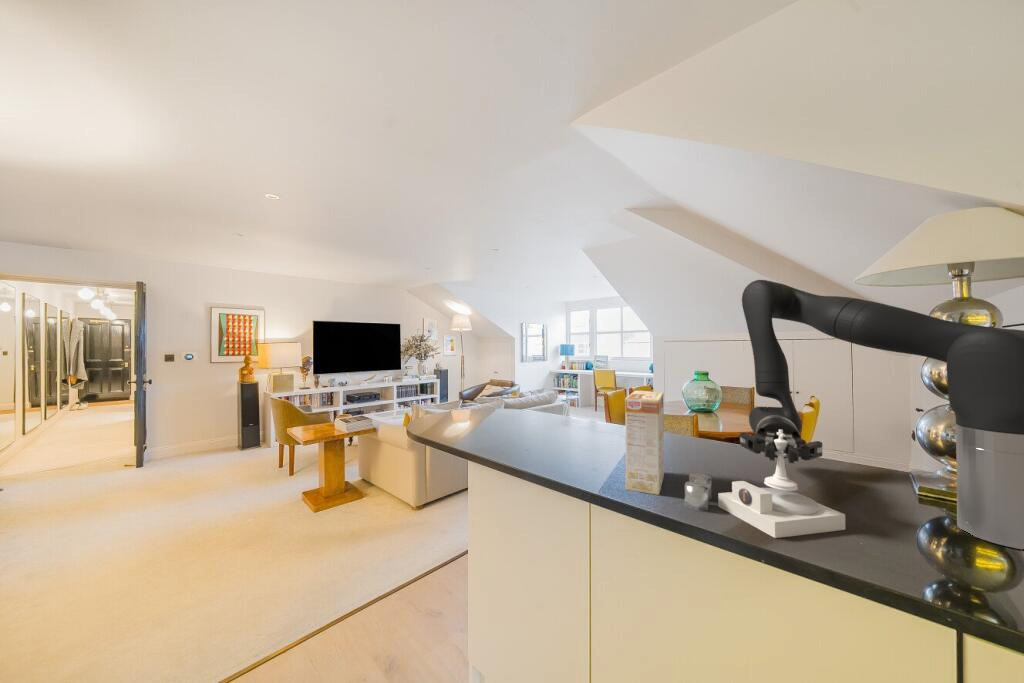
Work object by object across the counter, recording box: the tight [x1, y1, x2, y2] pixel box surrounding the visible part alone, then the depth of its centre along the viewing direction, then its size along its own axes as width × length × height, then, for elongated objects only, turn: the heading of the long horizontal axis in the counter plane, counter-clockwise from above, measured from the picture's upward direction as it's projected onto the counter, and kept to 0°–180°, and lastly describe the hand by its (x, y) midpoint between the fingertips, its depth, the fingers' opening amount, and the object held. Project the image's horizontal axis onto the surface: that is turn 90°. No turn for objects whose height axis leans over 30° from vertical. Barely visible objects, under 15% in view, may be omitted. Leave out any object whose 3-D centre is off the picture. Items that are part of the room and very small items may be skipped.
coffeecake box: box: [624, 390, 665, 496], centre depth 85 cm, size 15×7×20 cm, turn 154°
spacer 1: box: [688, 472, 712, 501], centre depth 76 cm, size 4×4×4 cm
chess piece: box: [763, 429, 799, 492], centre depth 67 cm, size 5×5×10 cm
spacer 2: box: [684, 481, 709, 512], centre depth 71 cm, size 4×4×4 cm
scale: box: [717, 480, 846, 539], centre depth 67 cm, size 14×12×6 cm
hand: (781, 456), depth 65 cm, fingers closed on chess piece
